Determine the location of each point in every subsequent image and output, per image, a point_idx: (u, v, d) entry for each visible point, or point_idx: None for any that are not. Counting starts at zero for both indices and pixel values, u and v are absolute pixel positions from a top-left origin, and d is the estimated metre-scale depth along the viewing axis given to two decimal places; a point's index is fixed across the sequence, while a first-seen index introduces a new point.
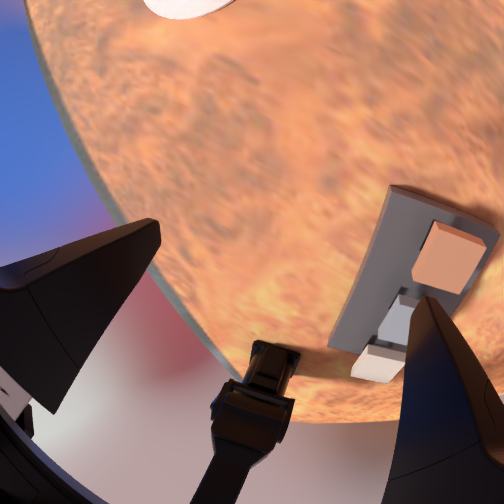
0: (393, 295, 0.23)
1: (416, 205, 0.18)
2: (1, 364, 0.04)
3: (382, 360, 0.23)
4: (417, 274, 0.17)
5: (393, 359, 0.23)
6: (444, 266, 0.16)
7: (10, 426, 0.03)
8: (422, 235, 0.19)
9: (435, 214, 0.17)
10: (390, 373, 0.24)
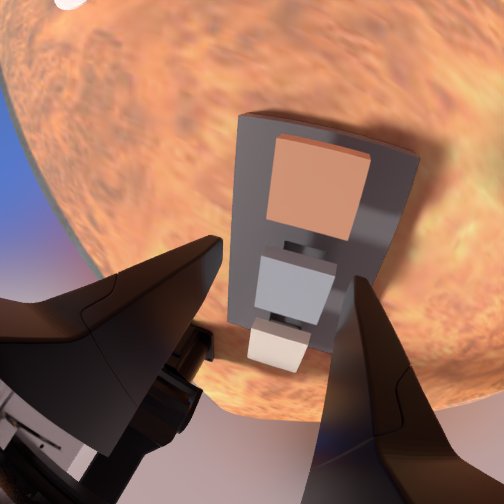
0: None
1: (273, 126, 0.15)
2: (57, 422, 0.04)
3: (274, 339, 0.21)
4: (268, 209, 0.15)
5: (287, 339, 0.20)
6: (305, 194, 0.13)
7: None
8: None
9: (302, 135, 0.15)
10: (293, 358, 0.21)
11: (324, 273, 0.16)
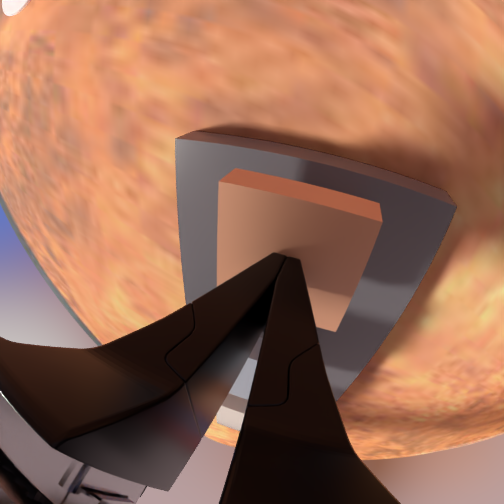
0: None
1: (225, 154, 0.10)
2: (137, 480, 0.03)
3: (243, 416, 0.15)
4: (218, 284, 0.10)
5: None
6: None
7: None
8: None
9: (271, 167, 0.10)
10: None
11: None
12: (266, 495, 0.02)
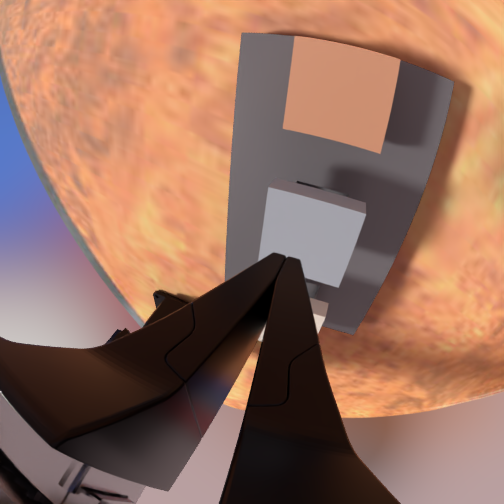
0: None
1: (282, 41, 0.11)
2: (137, 480, 0.03)
3: None
4: (286, 116, 0.11)
5: None
6: (329, 95, 0.10)
7: None
8: None
9: None
10: None
11: (352, 210, 0.11)
12: (266, 495, 0.02)
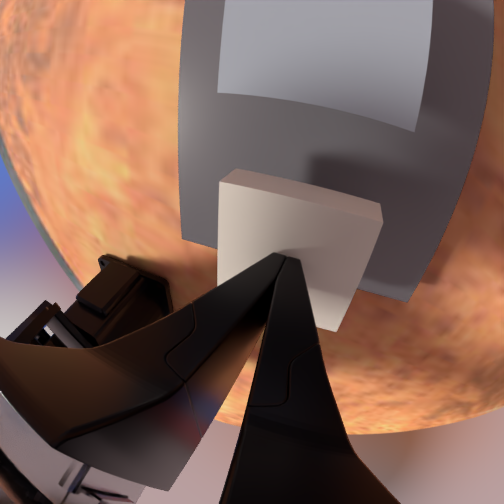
0: None
1: None
2: (137, 480, 0.03)
3: (285, 211, 0.07)
4: None
5: (324, 205, 0.07)
6: None
7: None
8: None
9: None
10: (336, 280, 0.08)
11: None
12: (266, 495, 0.02)
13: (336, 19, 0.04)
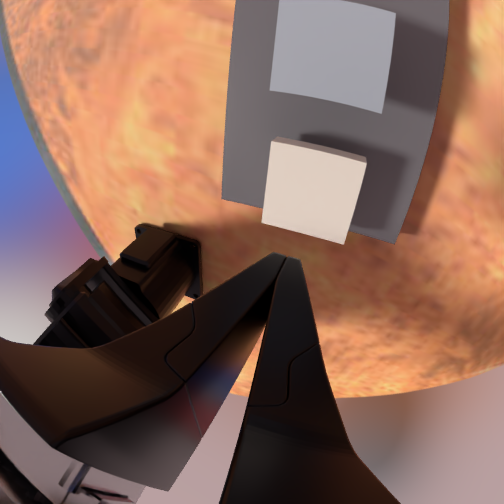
0: None
1: None
2: (137, 480, 0.03)
3: (310, 158, 0.12)
4: None
5: (332, 154, 0.12)
6: None
7: None
8: None
9: None
10: (341, 203, 0.13)
11: None
12: (266, 495, 0.02)
13: (338, 52, 0.08)
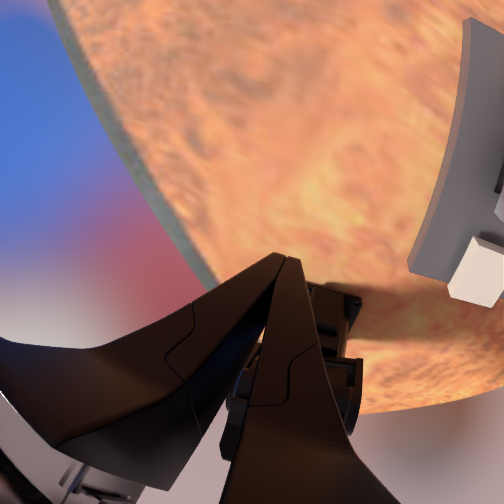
0: (498, 167, 0.12)
1: (499, 37, 0.07)
2: (137, 480, 0.03)
3: (495, 258, 0.13)
4: None
5: None
6: None
7: None
8: None
9: None
10: (500, 284, 0.14)
11: None
12: (266, 495, 0.02)
13: None
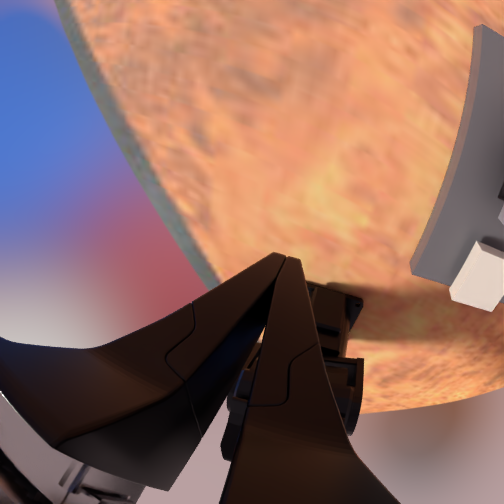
0: (503, 173, 0.12)
1: None
2: (137, 480, 0.03)
3: (497, 263, 0.13)
4: None
5: None
6: None
7: None
8: None
9: None
10: (501, 289, 0.14)
11: None
12: (266, 495, 0.02)
13: None
